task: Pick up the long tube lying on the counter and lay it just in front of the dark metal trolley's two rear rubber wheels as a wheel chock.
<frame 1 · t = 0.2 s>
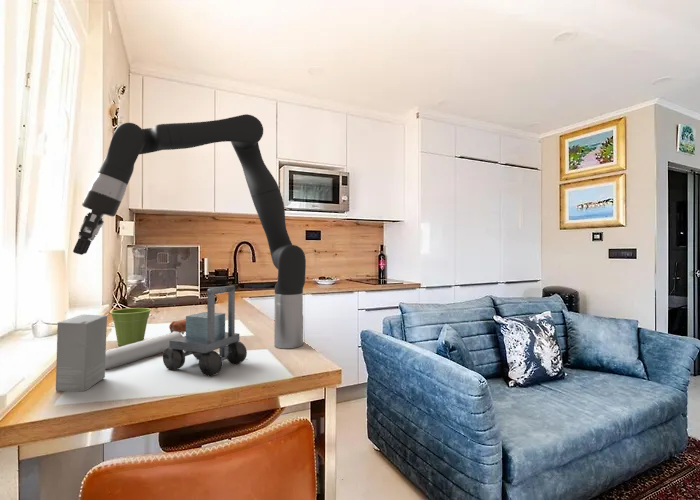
hand: (79, 253, 92), 31 cm above the table, tool tilted 20°, fingers open, 8 cm apart
tube: (142, 358, 106), on the table
trolley: (205, 366, 98), on the table
skincare box: (82, 386, 84), on the table
bull figurine: (187, 339, 127), on the table
plant pot: (131, 344, 120), on the table
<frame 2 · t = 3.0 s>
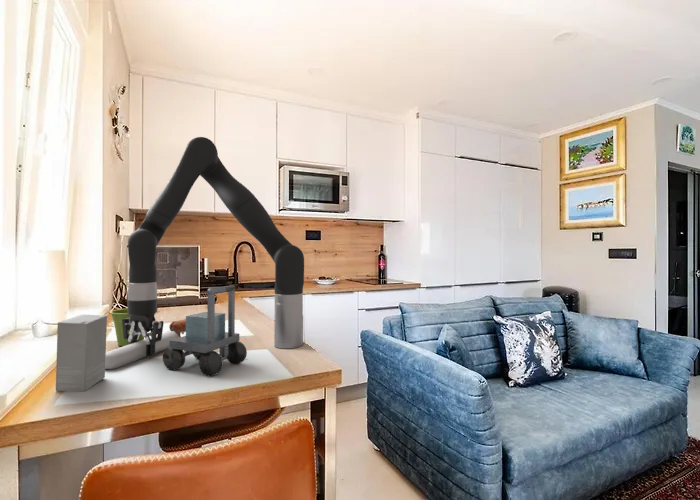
hand: (142, 354, 106), 1 cm above the table, tool pointing down, fingers open, 5 cm apart
tube: (141, 358, 106), on the table, touching gripper
everything else where it was.
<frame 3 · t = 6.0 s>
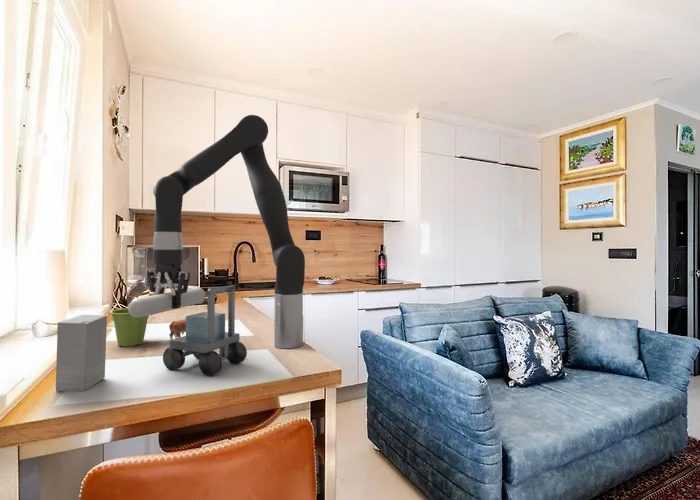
hand: (168, 307, 103), 15 cm above the table, tool pointing down, fingers closed on tube, 5 cm apart
tube: (169, 310, 103), point 14 cm above the table, touching gripper
everything else where it was.
when the fingers open (1 cm above the table, at t = 8.6 s): tube stays where it is, on the table.
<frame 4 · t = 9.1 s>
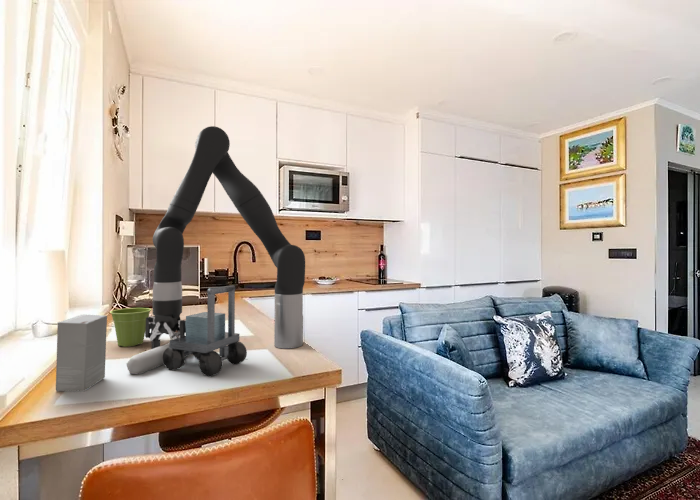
hand: (167, 354, 103), 2 cm above the table, tool pointing down, fingers open, 8 cm apart
tube: (168, 362, 103), on the table
everything else where it was.
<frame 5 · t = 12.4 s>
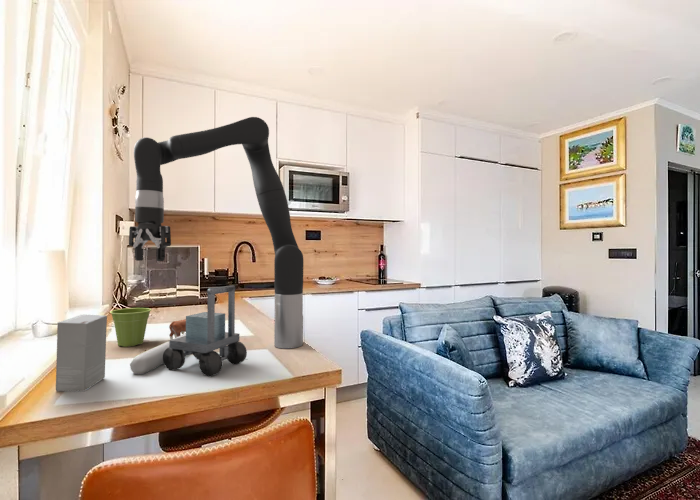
hand: (149, 260, 109), 28 cm above the table, tool pointing down, fingers open, 8 cm apart
at the end: tube inside the target area (0.6 cm from its centre), on the table; the gripper is holding nothing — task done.
